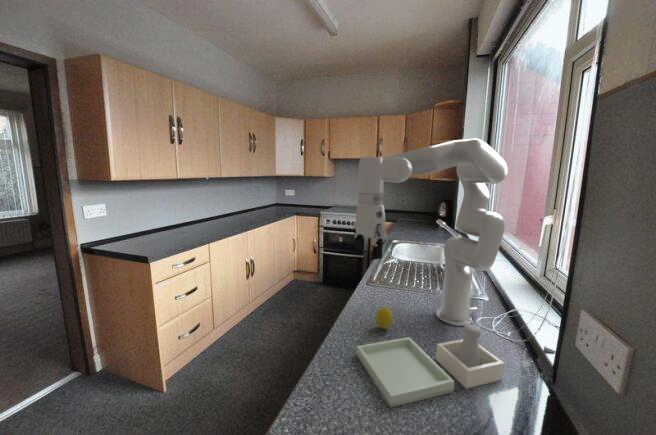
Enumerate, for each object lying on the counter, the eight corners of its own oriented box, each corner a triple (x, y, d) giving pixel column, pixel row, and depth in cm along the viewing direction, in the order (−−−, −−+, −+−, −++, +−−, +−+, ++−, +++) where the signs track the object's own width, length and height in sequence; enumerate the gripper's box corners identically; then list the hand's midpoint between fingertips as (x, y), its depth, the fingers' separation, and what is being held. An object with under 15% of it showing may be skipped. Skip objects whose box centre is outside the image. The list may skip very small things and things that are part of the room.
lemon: (391, 334, 97) (393, 312, 96) (375, 331, 98) (376, 310, 97) (391, 325, 103) (392, 304, 101) (375, 323, 104) (377, 303, 103)
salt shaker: (451, 365, 83) (456, 323, 80) (466, 360, 85) (471, 319, 83) (468, 378, 77) (474, 334, 75) (483, 373, 80) (489, 330, 77)
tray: (408, 345, 91) (409, 337, 91) (453, 391, 72) (454, 381, 72) (356, 355, 86) (357, 345, 85) (390, 407, 67) (391, 396, 66)
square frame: (468, 352, 89) (469, 337, 88) (502, 379, 77) (504, 362, 76) (435, 359, 85) (437, 343, 84) (466, 388, 74) (468, 371, 73)
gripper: (399, 202, 80) (395, 261, 83) (365, 196, 95) (362, 246, 98) (376, 202, 76) (373, 264, 79) (345, 196, 92) (343, 248, 95)
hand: (367, 254), depth 89 cm, fingers open, 9 cm apart
